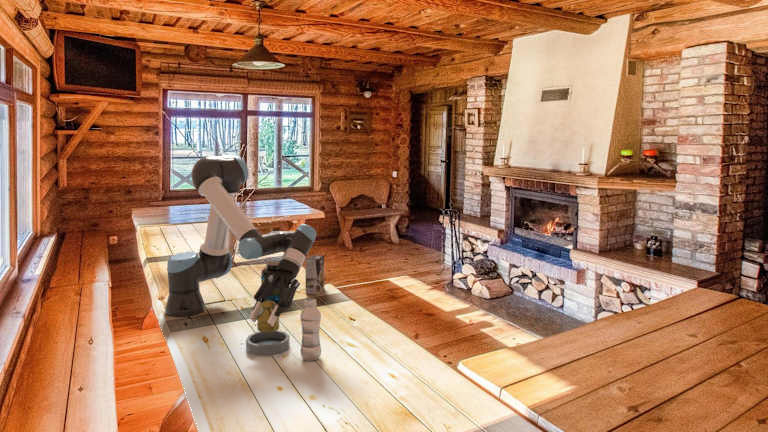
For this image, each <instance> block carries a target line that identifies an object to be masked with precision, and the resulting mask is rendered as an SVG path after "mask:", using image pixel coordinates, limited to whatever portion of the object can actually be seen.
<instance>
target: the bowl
mask: <svg viewBox="0 0 768 432" xmlns="http://www.w3.org/2000/svg"><path fill="white" fill-rule="evenodd" d="M290 341H291V340H290V334H288V333H287V332H286V331H282V330H279V329H278V330H276V331H274V332H267V333H266V332H260V331H256V332H253V333H250V334H249V335H248V336H247V338H246V339H245V347H246V352H247V353H248V354H249V355H253V356H256V357H272V356H277V355H281V354H283V353H285V352H287V351H288V350H289V348H290V344H291V342H290Z"/></svg>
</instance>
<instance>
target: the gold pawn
mask: <svg viewBox="0 0 768 432" xmlns="http://www.w3.org/2000/svg"><path fill="white" fill-rule="evenodd" d="M260 306H261V307H262V311H261V312H260V314H259V315H258V316H257V320H256V322H257V323H256V325H257V326H256V327H257V332H266V333H267V332H274V331H276V330H279V329H280V321H279V320H280V316H279V317H277V319H276V321H275V323H274V325H273V326H271V325H270V324H268V323H267V322H268V320H269V318H270V316H271V314H272V312H273V310H274V309H273V307H275V306H276V303H275V302H273V301H270V300H265V301H263V302H262V303H260Z"/></svg>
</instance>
